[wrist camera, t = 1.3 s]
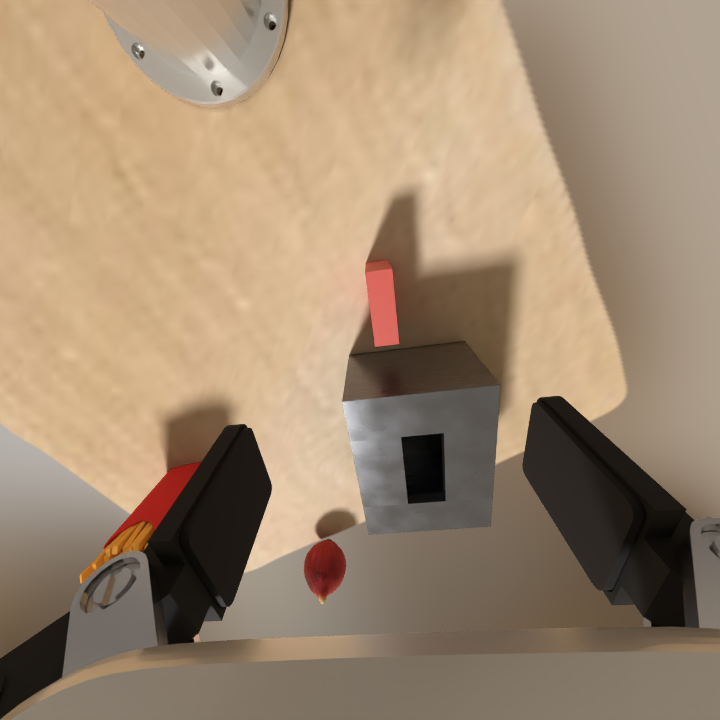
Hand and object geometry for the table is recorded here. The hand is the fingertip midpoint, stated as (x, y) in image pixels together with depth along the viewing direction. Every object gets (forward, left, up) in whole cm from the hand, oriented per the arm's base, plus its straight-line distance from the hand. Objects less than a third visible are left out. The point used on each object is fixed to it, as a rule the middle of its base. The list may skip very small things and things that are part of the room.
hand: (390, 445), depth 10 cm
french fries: (+20, -27, -21) cm, 40 cm away
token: (-1, +1, -20) cm, 20 cm away
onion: (+35, -11, -21) cm, 42 cm away
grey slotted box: (+13, +3, -20) cm, 24 cm away
